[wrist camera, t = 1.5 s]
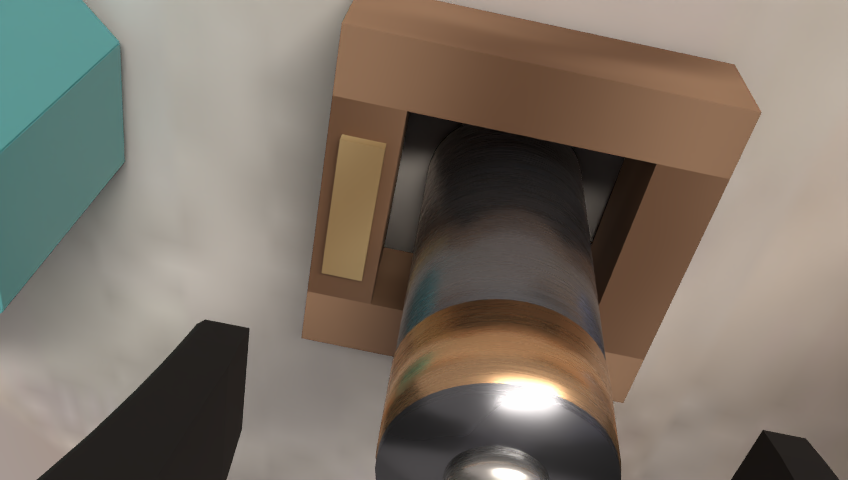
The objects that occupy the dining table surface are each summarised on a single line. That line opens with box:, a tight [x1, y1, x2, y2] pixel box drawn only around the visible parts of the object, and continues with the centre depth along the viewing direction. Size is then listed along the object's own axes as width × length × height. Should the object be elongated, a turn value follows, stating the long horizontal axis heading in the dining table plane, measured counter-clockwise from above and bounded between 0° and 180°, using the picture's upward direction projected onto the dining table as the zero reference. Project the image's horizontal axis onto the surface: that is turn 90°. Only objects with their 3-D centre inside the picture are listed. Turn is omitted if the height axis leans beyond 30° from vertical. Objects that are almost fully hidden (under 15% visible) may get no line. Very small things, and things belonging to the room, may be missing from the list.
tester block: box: [302, 0, 761, 403], centre depth 16 cm, size 7×7×2 cm
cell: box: [375, 124, 621, 480], centre depth 13 cm, size 3×3×8 cm
